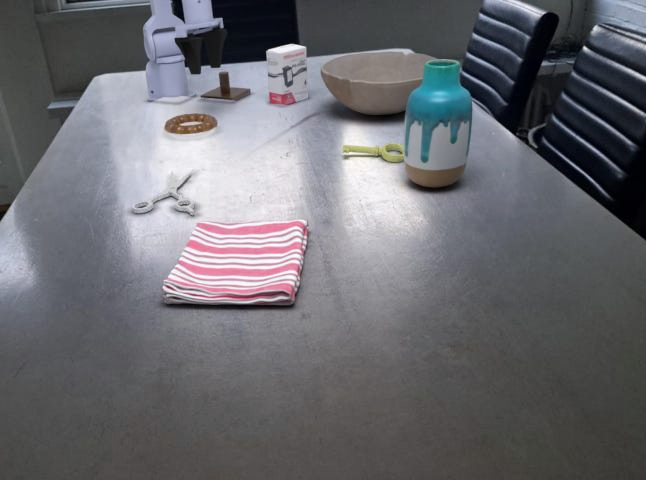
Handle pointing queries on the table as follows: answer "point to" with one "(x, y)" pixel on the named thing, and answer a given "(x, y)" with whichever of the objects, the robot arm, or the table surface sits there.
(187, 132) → the brown beaded ring
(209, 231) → the dish towel
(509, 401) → the table surface
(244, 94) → the brown peg stand
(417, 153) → the vase
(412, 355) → the table surface
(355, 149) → the key
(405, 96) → the bowl
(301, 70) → the ink box
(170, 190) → the scissors
